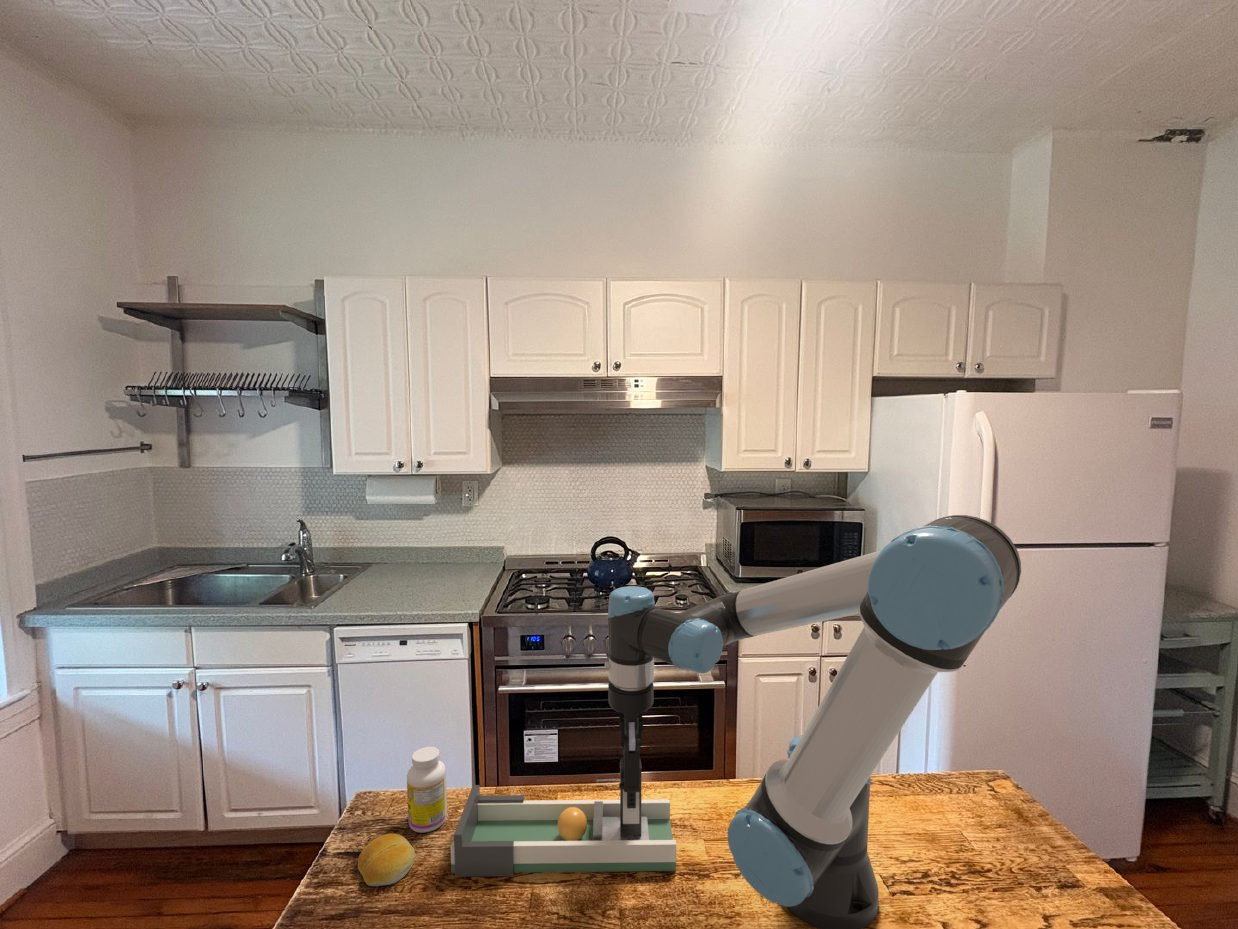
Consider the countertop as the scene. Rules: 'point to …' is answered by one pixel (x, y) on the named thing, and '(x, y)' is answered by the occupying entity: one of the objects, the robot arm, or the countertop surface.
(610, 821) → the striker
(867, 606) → the robot arm
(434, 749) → the supplement bottle
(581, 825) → the ball
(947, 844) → the countertop surface
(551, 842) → the board
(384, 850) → the bread roll
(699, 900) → the countertop surface
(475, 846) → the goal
